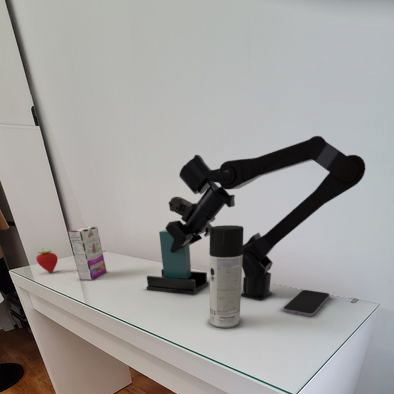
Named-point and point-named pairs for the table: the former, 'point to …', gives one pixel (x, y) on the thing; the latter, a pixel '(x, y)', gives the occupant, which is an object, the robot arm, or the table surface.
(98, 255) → the candy bar box
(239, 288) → the spray can
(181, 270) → the book
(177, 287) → the black rack
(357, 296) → the table surface
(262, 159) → the robot arm
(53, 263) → the strawberry
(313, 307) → the smartphone
